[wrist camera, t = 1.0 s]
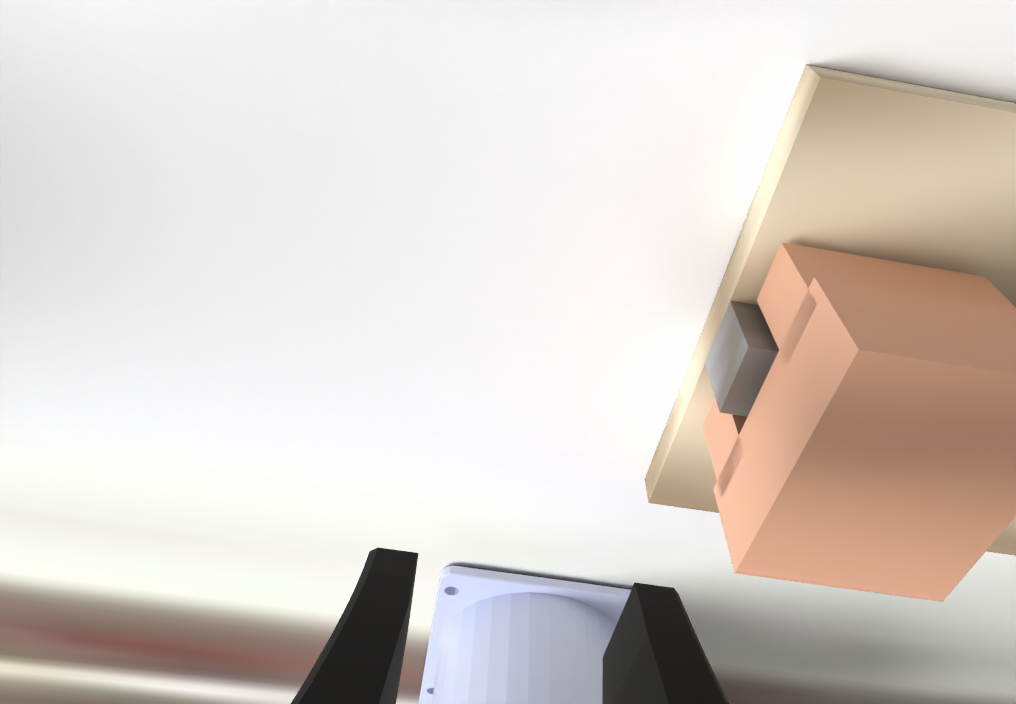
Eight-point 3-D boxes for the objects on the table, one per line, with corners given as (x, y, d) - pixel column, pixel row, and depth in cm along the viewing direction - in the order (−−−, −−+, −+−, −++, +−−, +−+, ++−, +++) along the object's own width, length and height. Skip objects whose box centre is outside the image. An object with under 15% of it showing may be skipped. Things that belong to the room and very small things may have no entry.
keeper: (868, 459, 21) (942, 601, 17) (699, 434, 20) (735, 572, 16) (991, 265, 17) (1122, 391, 13) (786, 231, 17) (858, 349, 13)
